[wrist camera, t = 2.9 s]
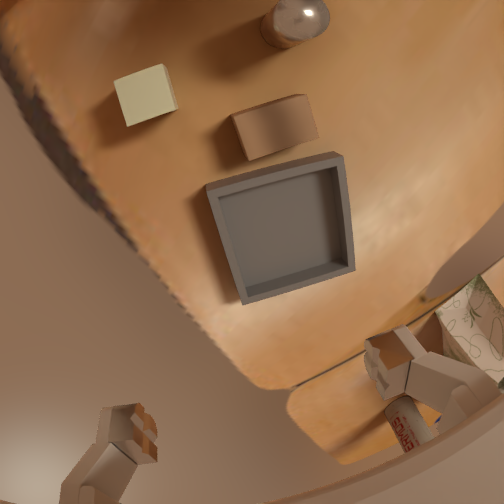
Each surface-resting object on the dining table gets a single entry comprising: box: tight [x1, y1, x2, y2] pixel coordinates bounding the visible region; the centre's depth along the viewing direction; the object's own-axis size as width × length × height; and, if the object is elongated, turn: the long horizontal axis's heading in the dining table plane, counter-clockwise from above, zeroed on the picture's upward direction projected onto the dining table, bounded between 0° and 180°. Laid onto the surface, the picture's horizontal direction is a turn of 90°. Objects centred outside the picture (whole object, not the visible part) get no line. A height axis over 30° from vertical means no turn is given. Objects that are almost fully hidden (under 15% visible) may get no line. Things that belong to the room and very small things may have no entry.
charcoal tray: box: [206, 151, 356, 305], centre depth 40 cm, size 16×16×3 cm
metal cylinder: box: [260, 0, 330, 49], centre depth 26 cm, size 5×5×8 cm
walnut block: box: [230, 94, 319, 161], centre depth 33 cm, size 8×5×4 cm, turn 108°
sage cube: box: [114, 64, 178, 127], centre depth 29 cm, size 5×5×5 cm
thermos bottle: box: [384, 396, 434, 453], centre depth 58 cm, size 8×8×28 cm
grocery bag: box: [435, 274, 504, 394], centre depth 51 cm, size 32×14×23 cm, turn 33°
